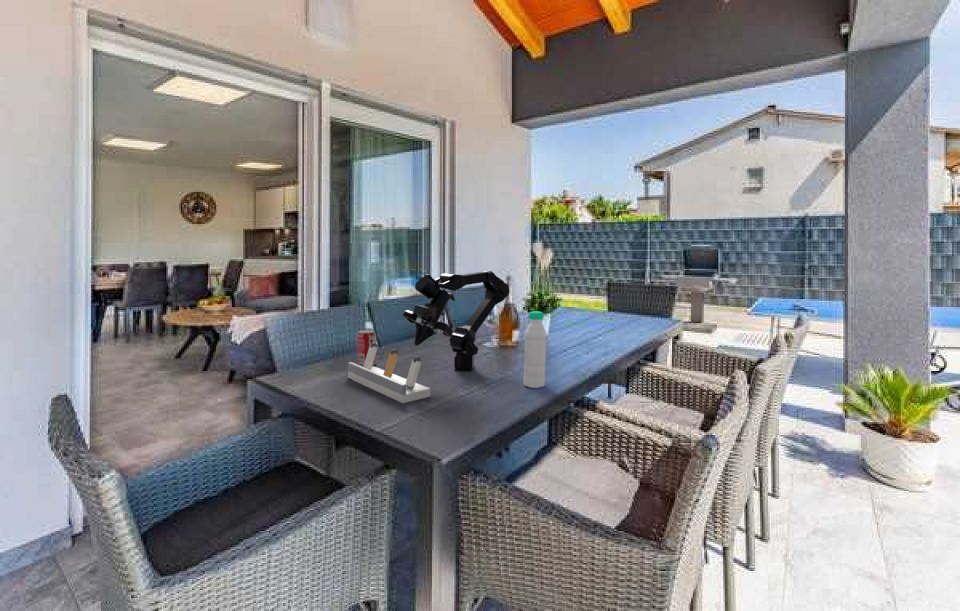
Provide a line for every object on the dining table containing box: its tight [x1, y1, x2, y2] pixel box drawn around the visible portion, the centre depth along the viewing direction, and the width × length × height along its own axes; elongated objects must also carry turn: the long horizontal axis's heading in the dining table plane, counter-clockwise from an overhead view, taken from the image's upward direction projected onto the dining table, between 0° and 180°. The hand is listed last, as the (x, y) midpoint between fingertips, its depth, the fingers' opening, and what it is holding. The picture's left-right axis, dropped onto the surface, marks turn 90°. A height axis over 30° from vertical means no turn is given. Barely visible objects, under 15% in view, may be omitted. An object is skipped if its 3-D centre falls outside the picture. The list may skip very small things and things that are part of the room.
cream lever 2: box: [405, 356, 422, 390], centre depth 151 cm, size 2×3×10 cm
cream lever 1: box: [362, 342, 378, 370], centre depth 170 cm, size 2×3×10 cm
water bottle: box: [523, 310, 547, 387], centre depth 161 cm, size 7×7×25 cm
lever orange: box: [383, 348, 399, 378], centre depth 160 cm, size 2×3×10 cm
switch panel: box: [347, 361, 431, 404], centre depth 160 cm, size 10×34×6 cm, turn 42°
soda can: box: [356, 329, 377, 367], centre depth 187 cm, size 7×7×13 cm
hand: (415, 345), depth 166 cm, fingers closed
